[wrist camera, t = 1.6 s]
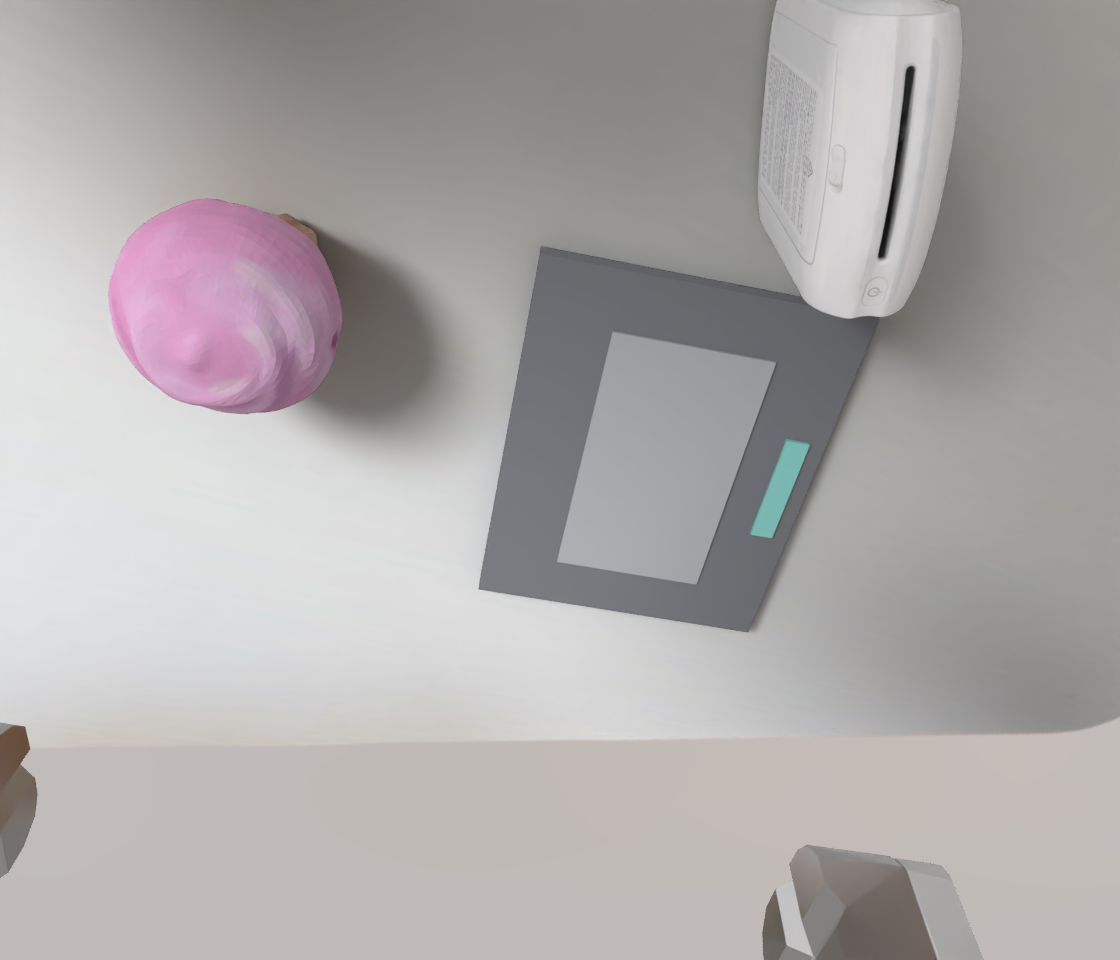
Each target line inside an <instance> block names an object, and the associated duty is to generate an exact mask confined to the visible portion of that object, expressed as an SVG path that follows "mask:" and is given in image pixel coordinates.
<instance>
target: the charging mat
mask: <svg viewBox="0 0 1120 960" xmlns="http://www.w3.org/2000/svg"><path fill="white" fill-rule="evenodd" d="M878 321H879V319H878V317H875V316H861V317H856V318H852V319H847V318H842V317H838V316H833V315H830V314H827V313H824V312H821V311H819V310H817V309H815V308H814V307H812V306H811V305H809V304H808V303H806V301H805V300H804V299H803V298H802V297H798V296H793V295H788V294H783V293H778V292H773V291H767V290H762V289H757V288H752V287H747V286H742V285H737V284H732V283H726V282H721V281H716V280H711V279H706V278H701V277H696V276H691V275H685V274H680V273H675V272H670V271H665V270H660V269H655V268H649V267H644V266H639V265H634V264H629V263H624V262H619V261H614V260H608V259H603V258H598V257H593V256H588V255H583V254H578V253H573V252H567V251H562V250H557V249H552V248H547V247H542V246H541V251H540V256H539V262H538V267H537V273H536V278H535V284H534V289H533V294H532V300H531V305H530V311H529V316H528V322H527V327H526V332H525V338H524V343H523V349H522V354H521V360H520V365H519V371H518V376H517V381H516V387H515V392H514V398H513V403H512V409H511V414H510V419H509V425H508V430H507V436H506V441H505V447H504V452H503V457H502V463H501V468H500V474H499V479H498V485H497V490H496V496H495V501H494V506H493V512H492V517H491V523H490V528H489V534H488V539H487V544H486V550H485V555H484V561H483V566H482V572H481V577H480V583H479V589H480V590H486V591H493V592H499V593H505V594H511V595H518V596H524V597H530V598H536V599H543V600H549V601H555V602H561V603H568V604H574V605H580V606H587V607H593V608H599V609H605V610H612V611H618V612H624V613H630V614H637V615H643V616H649V617H655V618H662V619H668V620H674V621H681V622H687V623H693V624H699V625H706V626H712V627H718V628H724V629H731V630H737V631H743V632H749V629H750V627H751V624H752V622H753V620H754V617H755V615H756V612H757V610H758V608H759V605H760V603H761V600H762V598H763V596H764V593H765V591H766V589H767V586H768V584H769V581H770V579H771V577H772V574H773V572H774V569H775V567H776V565H777V562H778V560H779V557H780V555H781V553H782V550H783V548H784V545H785V543H786V541H787V538H788V536H789V534H790V531H791V529H792V526H793V524H794V522H795V519H796V517H797V514H798V512H799V510H800V507H801V505H802V502H803V500H804V498H805V495H806V493H807V491H808V488H809V486H810V483H811V481H812V479H813V476H814V474H815V471H816V469H817V467H818V464H819V462H820V459H821V457H822V455H823V452H824V450H825V447H826V445H827V443H828V440H829V438H830V436H831V433H832V431H833V428H834V426H835V424H836V421H837V419H838V416H839V414H840V412H841V409H842V407H843V404H844V402H845V400H846V397H847V395H848V393H849V390H850V388H851V385H852V383H853V381H854V378H855V376H856V373H857V371H858V369H859V366H860V364H861V361H862V359H863V357H864V354H865V352H866V350H867V347H868V345H869V342H870V340H871V338H872V335H873V333H874V330H875V328H876V326H877V323H878Z"/></svg>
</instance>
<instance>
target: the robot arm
mask: <svg viewBox="0 0 1120 960" xmlns="http://www.w3.org/2000/svg"><path fill="white" fill-rule="evenodd" d="M29 750H30V746H29V741H28V737H27V733H26V728H25V727H24V726H18V725H13V724H7V723H1V722H0V878H1V877H2V876H4V875H5V874H7V873H8V872H9V870H10V869H11V867H12V865H13V863H14V862H15V860H16V858H17V857H18V855H19V853H20V852H21V850H22V848H23V846H24V844H25V842H26V838H27V836H28V833H29V830H30V828H31V825H32V822H33V820H34V817H35V811H36V803H37V788H36V781H35V778H34V777H33V776H32V775H31V774H30V773H29V772H28V771H27V770H26V769H25V768H24V767H23V766H22V765H21V762H22V761H23V759H24V758H25V756H26V755H27V753H28V752H29ZM790 869H791V874H792V879H793V880H792V881H790V882H788V883H786V884H784V885H782V886H780V887H778V888H776V889H775V891H774V893H773V895H772V897H771V899H770V901H769V903H768V905H767V907H766V913H765V919H764V926H763V933H762V934H763V956H764V960H984V959H983V957H982V954H981V952H980V950H979V947H978V944H977V942H976V939H975V937H974V935H973V932H972V929H971V927H970V924H969V922H968V919H967V917H966V914H965V912H964V910H963V907H962V905H961V902H960V899H959V897H958V894H957V892H956V889H955V887H954V885H953V882H952V880H951V877H950V876H949V874H948V873H947V872H946V871H945V870H944V868H943V867H942V866H940V865H936V864H931V863H924V862H917V861H910V860H902V859H894V858H891V857H890V856H884V855H877V854H870V853H862V852H855V851H848V850H840V849H833V848H826V847H819V846H811V845H806V846H804V847H802V848H800V849H798V850H797V852H796V854H795V855H794V857H793V859H792V861H791V862H790Z"/></svg>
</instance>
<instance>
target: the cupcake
mask: <svg viewBox="0 0 1120 960" xmlns="http://www.w3.org/2000/svg"><path fill="white" fill-rule="evenodd" d="M109 306H110V313H111V318H112V323H113V328H114V331H115V334H116V338H117V340H118V342H119V344H120V346H121V347H122V349H123V351H124V352H125V354H126V355H127V357H128V358H129V360H130V361H131V363H132V364H133V365H134V366H135V368H136V369H137V370H138V371H139V372H140V373H141V374H142V375H143V376H144V377H145V378H146V379H147V380H148V381H150V382H151V383H152V384H154V385H155V386H156V387H158V388H159V389H160V390H162V391H163V392H164V393H165V394H167V395H168V396H170V397H171V398H174V399H176V400H178V401H181V402H184V403H187V404H192V405H198V406H203V407H206V408H209V409H212V410H216V411H221V412H226V413H236V414H249V413H257V412H271V411H277V410H280V409H283V408H286V407H288V406H291V405H293V404H295V403H297V402H300V401H302V400H303V399H305V398H306V397H307V396H309V395H310V394H311V393H313V392H314V391H315V390H316V389H317V387H318V386H319V385H320V384H321V383H322V381H323V380H324V378H325V376H326V375H327V373H328V372H329V370H330V368H331V366H332V364H333V361H334V359H335V355H336V352H337V348H338V344H339V339H340V334H341V330H342V324H343V321H342V309H341V303H340V298H339V294H338V290H337V287H336V284H335V282H334V279H333V277H332V274H331V271H330V269H329V267H328V265H327V262H326V260H325V258H324V257H323V255H322V253H321V251H320V250H319V248H318V244H317V237H316V234H315V232H314V231H313V230H312V229H310V228H309V227H306V226H304V225H302V224H301V223H300V222H299V221H298V220H297V219H295V218H293V217H292V216H290V215H289V214H281V215H271V214H269V213H265V212H261V211H259V210H256V209H254V208H251V207H247V206H244V205H239V204H235V203H228V202H225V201H222V200H218V199H197V200H192V201H189V202H186V203H183V204H181V205H178V206H176V207H173V208H171V209H169V210H167V211H165V212H163V213H161V214H159V215H157V216H155V217H153V218H151V219H150V220H148V221H147V222H146V223H144V224H143V225H142V226H141V227H140V228H139V229H137V230H136V231H135V232H134V233H133V234H132V235H131V236H130V237H129V239H128V240H127V242H126V244H125V245H124V247H123V249H122V251H121V253H120V256H119V258H118V260H117V262H116V264H115V267H114V270H113V273H112V276H111V279H110V285H109Z"/></svg>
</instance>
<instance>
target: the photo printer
mask: <svg viewBox="0 0 1120 960" xmlns="http://www.w3.org/2000/svg"><path fill="white" fill-rule="evenodd" d="M962 47H963V39H962V24H961V16H960V10H959V8H958V7H957V6H955V5H952V4H948V3H945V2H942V1H938V0H777V3H776V6H775V11H774V16H773V21H772V28H771V35H770V43H769V53H768V57H767V72H766V83H765V94H764V104H763V115H762V128H761V139H760V156H759V171H758V207H759V216H760V221H761V224H762V226H763V228H764V229H765V231H766V233H767V235H768V236H769V238H770V240H771V241H772V243H773V245H774V247H775V249H776V251H777V252H778V254H779V256H780V258H781V259H782V261H783V263H784V265H785V266H786V268H787V270H788V272H789V274H790V276H791V278H792V279H793V281H794V283H795V285H796V287H797V288H798V290H799V292H800V294H801V296H802V298H803V299H804V300H805V301H806V303H808V304H809V305H811V306H812V307H814V308H815V309H817V310H819V311H821V312H824V313H827V314H830V315H833V316H838V317H842V318H847V319H852V318H856V317H861V316H875V317H886V316H889V315H891V314H894V313H896V312H897V311H899V310H900V309H901V308H903V306H904V305H905V303H906V301H907V300H908V298H909V296H910V294H911V292H912V291H913V289H914V286H915V284H916V282H917V280H918V278H919V275H920V273H921V271H922V267H923V264H924V262H925V259H926V256H927V253H928V249H929V246H930V242H931V239H932V236H933V232H934V228H935V225H936V221H937V217H938V213H939V208H940V204H941V200H942V195H943V190H944V185H945V181H946V175H947V171H948V166H949V160H950V155H951V149H952V143H953V137H954V131H955V124H956V117H957V110H958V102H959V94H960V84H961V72H962V56H963V53H962Z"/></svg>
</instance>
